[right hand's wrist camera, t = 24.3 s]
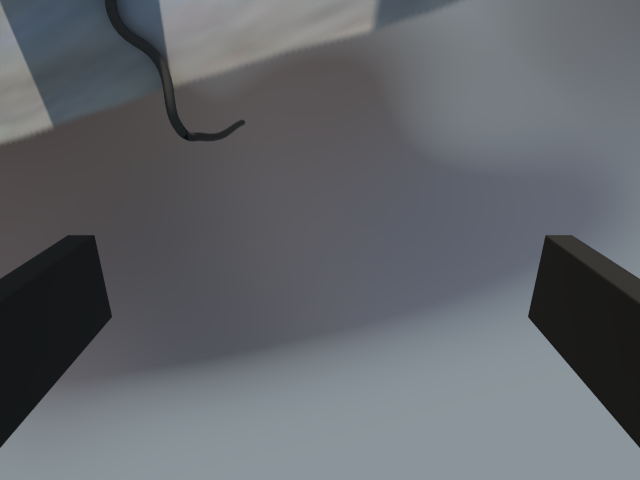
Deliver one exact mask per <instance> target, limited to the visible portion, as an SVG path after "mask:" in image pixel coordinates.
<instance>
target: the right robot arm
mask: <svg viewBox="0 0 640 480" xmlns="http://www.w3.org/2000/svg"><path fill="white" fill-rule="evenodd" d="M105 5H106V10H107V14H108V17H109V19H110V21H111V23H112V25H113V27H114V28H115V30H116V31H117V32H118V33H119V34H120V35H121V36H122V37H123V38H124V39H125V40H126V41H128V42H129V43H131V44H132V45H134V46H135V47H137V48H138V49H140V50H141V51H143V52H144V53H146V54H147V55H148V56H149V57H150V58H151V59H152V61H153V62H154V63H155V65H156V67H157V69H158V71H159V74H160V77H161V80H162V84H163V90H164V98H165V105H166V110H167V114H168V117H169V120H170V122H171V124H172V126H173V128H174V129H175V131H176V132H177V133H178V135H179V136H181V137H182V138H183V139H185V140H187V141H192V142H193V141H216V140H221V139H223V138H225V137H227V136H229V135H230V134H231V133H233V132H234V131H235V130H236V129H238V128H239V127H241V126H243V125H244V124H245V121H244V120H240V121H237V122H236V123H234V124H232V125H231V126H230V127H228V128H227V129H225V130H223V131H221V132H219V133H200V132H196V133H192V132H189V131H188V130H187V129H186V128H185V127H184V126H183V124H182V123H181V121H180V119H179V117H178V114H177V110H176V105H175V98H174V90H173V84H172V79H171V75H170V72H169V69H168V67H167V65H166V63H165V61H164V59H163V58H162V56H161V55H160V53H159V52H158V51H157V50H156V49H155V48H154V47H153V46H152V45H150V44H149V43H148V42H146V41H145V40H143V39H142V38H140V37H139V36H137V35H136V34H134V33H133V32H132V31H130V30H129V29H128V28H127V27H126V26H125V25H124V23H123V22H122V20H121V18H120V16H119V14H118V11H117V6H116V0H105ZM111 317H112V315H111V310H110V306H109V301H108V296H107V292H106V287H105V282H104V278H103V273H102V269H101V264H100V259H99V255H98V250H97V246H96V241H95V236H94V235H68V236H66V237H65V238H63V239H62V240H60V241H58V242H57V243H55V244H54V245H52V246H51V247H49V248H48V249H46V250H45V251H43V252H41V253H40V254H38V255H37V256H35V257H34V258H32V259H31V260H29V261H27V262H26V263H24V264H23V265H21V266H20V267H18V268H17V269H15V270H13V271H12V272H10V273H9V274H7V275H6V276H4V277H3V278H1V279H0V447H1V446H2V445H3V444H4V443H5V442H6V440H7V439H8V438H9V437H10V436H11V434H12V433H13V432H14V431H15V430H16V429H17V428H18V426H19V425H20V424H21V423H22V422H23V421H24V419H25V418H26V417H27V416H28V415H29V413H30V412H31V411H32V410H33V409H34V408H35V406H36V405H37V404H38V403H39V402H40V401H41V399H42V398H43V397H44V396H45V395H46V394H47V392H48V391H49V390H50V389H51V388H52V387H53V385H54V384H55V383H56V382H57V381H58V379H59V378H60V377H61V376H62V375H63V374H64V372H65V371H66V370H67V369H68V368H69V367H70V365H71V364H72V363H73V362H74V361H75V360H76V358H77V357H78V356H79V355H80V354H81V353H82V351H83V350H84V349H85V348H86V347H87V346H88V344H89V343H90V342H91V341H92V340H93V338H94V337H95V336H96V335H97V334H98V333H99V331H100V330H101V329H102V328H103V327H104V326H105V324H106V323H107V322H108V321H109V320H110V319H111ZM528 317H529V318H530V320H531V321H532V322H533V323H534V324H535V326H536V327H537V328H538V329H539V330H540V331H541V333H542V334H543V335H544V336H545V337H546V338H547V340H548V341H549V342H550V343H551V344H552V345H553V347H554V348H555V349H556V350H557V351H558V353H559V354H560V355H561V356H562V357H563V358H564V360H565V361H566V362H567V363H568V364H569V365H570V367H571V368H572V369H573V370H574V371H575V372H576V373H577V375H578V376H579V377H580V378H581V379H582V381H583V382H584V383H585V384H586V385H587V387H588V388H589V389H590V390H591V391H592V392H593V394H594V395H595V396H596V397H597V398H598V399H599V401H600V402H601V403H602V404H603V405H604V406H605V408H606V409H607V410H608V411H609V412H610V413H611V415H612V416H613V417H614V418H615V419H616V420H617V422H618V423H619V424H620V425H621V426H622V428H623V429H624V430H625V431H626V432H627V433H628V434H629V436H630V437H631V438H632V439H633V440H634V442H635V443H636V444H637V445H638V446H639V447H640V279H639V278H637V277H636V276H634V275H633V274H631V273H630V272H628V271H627V270H625V269H623V268H622V267H620V266H619V265H617V264H616V263H614V262H613V261H611V260H609V259H608V258H606V257H605V256H603V255H602V254H600V253H599V252H597V251H596V250H594V249H592V248H591V247H589V246H588V245H586V244H585V243H583V242H581V241H580V240H578V239H577V238H575V237H574V236H572V235H546V236H545V241H544V245H543V250H542V255H541V260H540V264H539V269H538V273H537V278H536V282H535V287H534V292H533V296H532V301H531V306H530V310H529V315H528Z"/></svg>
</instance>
